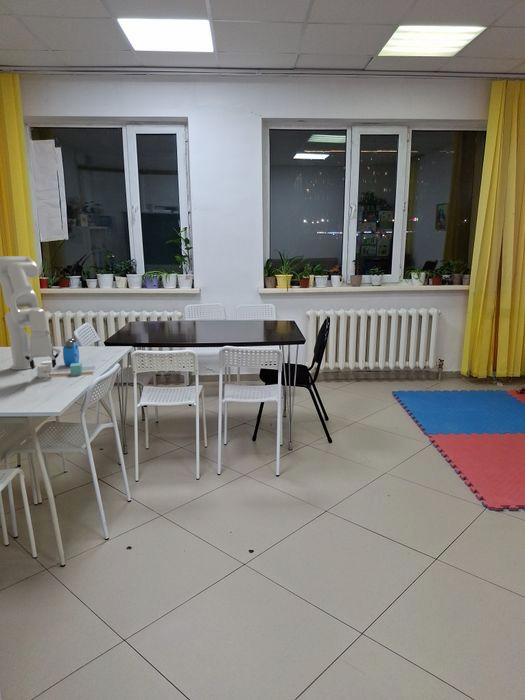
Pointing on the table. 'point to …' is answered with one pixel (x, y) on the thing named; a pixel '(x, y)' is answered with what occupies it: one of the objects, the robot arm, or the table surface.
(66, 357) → the alarm clock
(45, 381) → the table surface
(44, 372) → the walnut strip
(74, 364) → the teal cube
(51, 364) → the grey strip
